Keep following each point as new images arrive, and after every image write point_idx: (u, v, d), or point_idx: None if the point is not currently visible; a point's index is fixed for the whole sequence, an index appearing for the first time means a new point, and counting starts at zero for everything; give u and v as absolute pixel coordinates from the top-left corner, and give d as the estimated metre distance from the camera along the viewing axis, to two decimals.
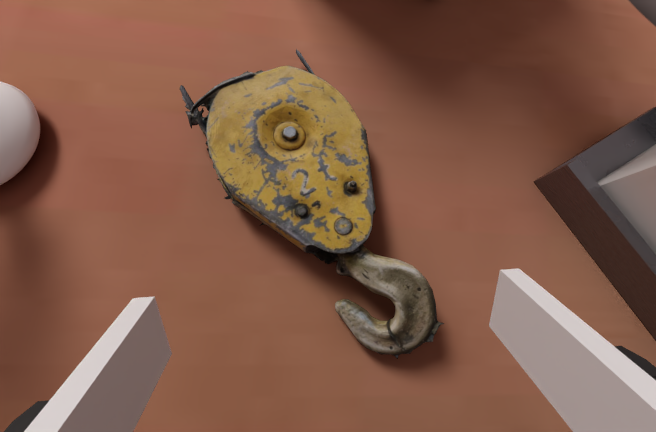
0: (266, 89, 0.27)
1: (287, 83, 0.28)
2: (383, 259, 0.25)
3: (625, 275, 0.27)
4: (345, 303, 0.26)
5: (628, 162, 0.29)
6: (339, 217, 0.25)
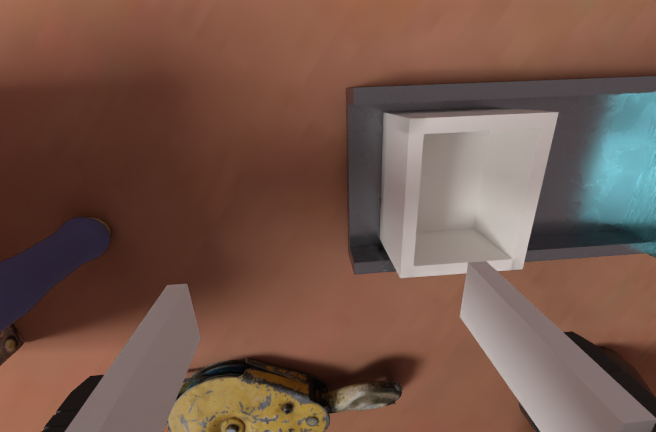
0: None
1: (187, 420, 0.35)
2: (342, 400, 0.36)
3: None
4: None
5: (382, 182, 0.28)
6: (305, 421, 0.35)
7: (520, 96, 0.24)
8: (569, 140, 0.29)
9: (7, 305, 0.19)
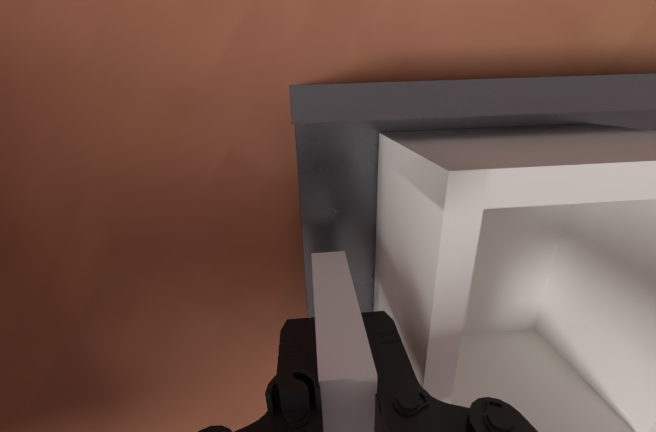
0: None
1: None
2: None
3: None
4: None
5: (376, 257, 0.16)
6: None
7: (652, 106, 0.11)
8: None
9: None
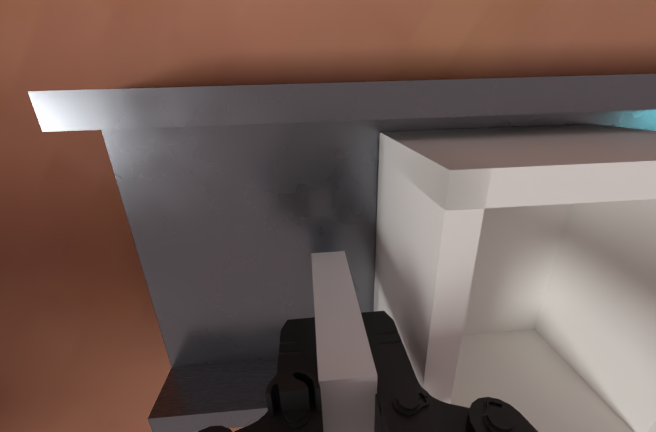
0: None
1: None
2: None
3: None
4: None
5: (376, 257, 0.16)
6: None
7: (437, 114, 0.11)
8: None
9: None
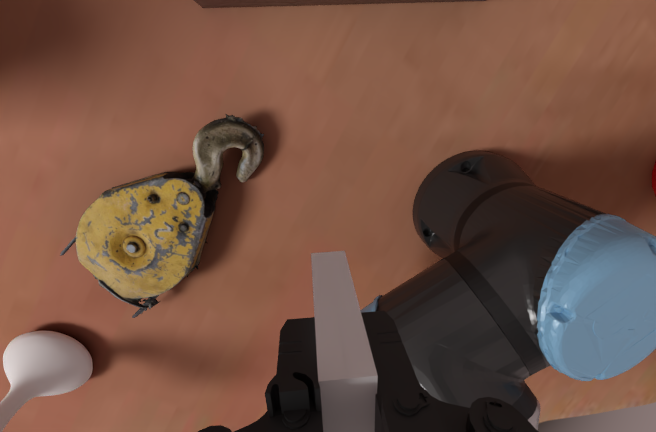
0: (107, 270, 0.38)
1: (94, 258, 0.37)
2: (196, 164, 0.34)
3: (306, 0, 0.31)
4: (238, 177, 0.37)
5: None
6: (178, 202, 0.35)
7: None
8: None
9: None
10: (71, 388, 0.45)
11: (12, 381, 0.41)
